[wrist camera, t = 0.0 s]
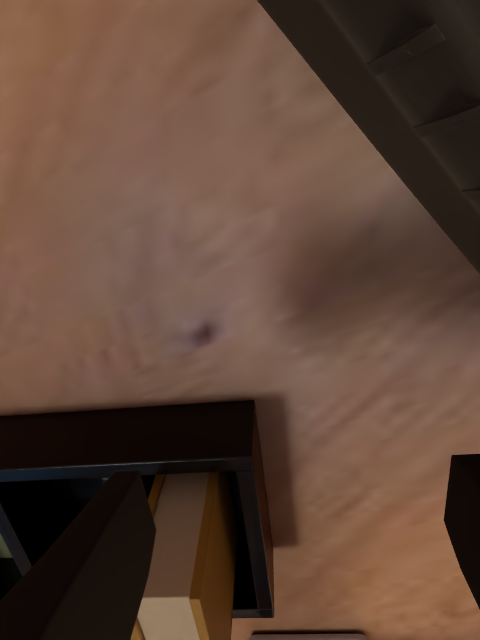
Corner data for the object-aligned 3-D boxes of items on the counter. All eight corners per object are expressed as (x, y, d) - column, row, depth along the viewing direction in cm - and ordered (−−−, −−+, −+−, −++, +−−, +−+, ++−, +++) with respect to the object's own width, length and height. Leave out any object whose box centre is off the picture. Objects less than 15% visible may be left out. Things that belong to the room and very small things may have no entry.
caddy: (273, 548, 26) (274, 618, 22) (-13, 557, 27) (-55, 622, 24) (254, 399, 21) (252, 456, 17) (-88, 421, 23) (-155, 477, 19)
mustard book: (237, 533, 24) (226, 705, 17) (187, 535, 25) (155, 705, 18) (221, 440, 22) (199, 599, 14) (165, 443, 22) (115, 601, 15)
